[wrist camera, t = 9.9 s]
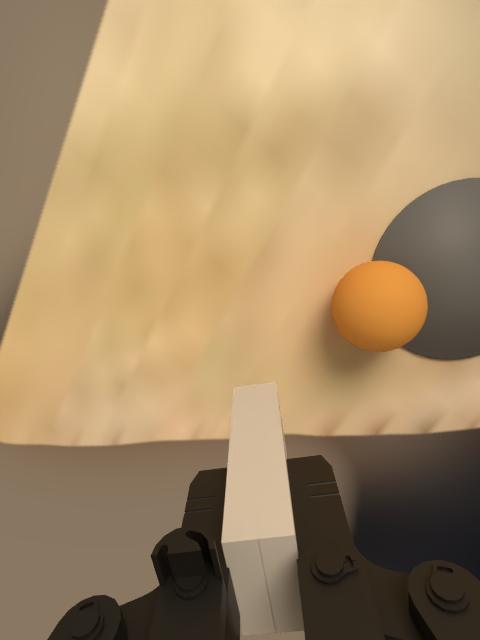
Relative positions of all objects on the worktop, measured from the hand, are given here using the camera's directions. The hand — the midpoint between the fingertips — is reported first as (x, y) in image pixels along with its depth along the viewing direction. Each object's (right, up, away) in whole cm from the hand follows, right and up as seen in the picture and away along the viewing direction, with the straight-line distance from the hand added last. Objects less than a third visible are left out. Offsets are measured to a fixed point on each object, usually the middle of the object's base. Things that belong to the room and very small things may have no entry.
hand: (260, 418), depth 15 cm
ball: (+8, +4, +10) cm, 13 cm away
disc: (+14, +6, +12) cm, 20 cm away
